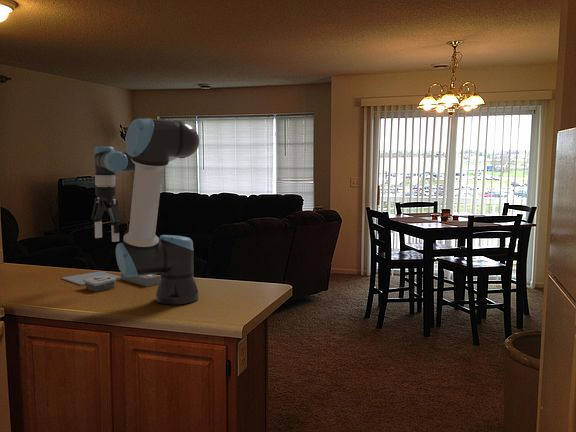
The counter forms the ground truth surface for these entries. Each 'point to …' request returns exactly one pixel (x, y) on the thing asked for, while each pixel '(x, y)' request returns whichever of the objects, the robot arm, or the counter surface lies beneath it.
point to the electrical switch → (99, 283)
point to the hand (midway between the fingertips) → (106, 239)
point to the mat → (79, 278)
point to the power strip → (143, 280)
